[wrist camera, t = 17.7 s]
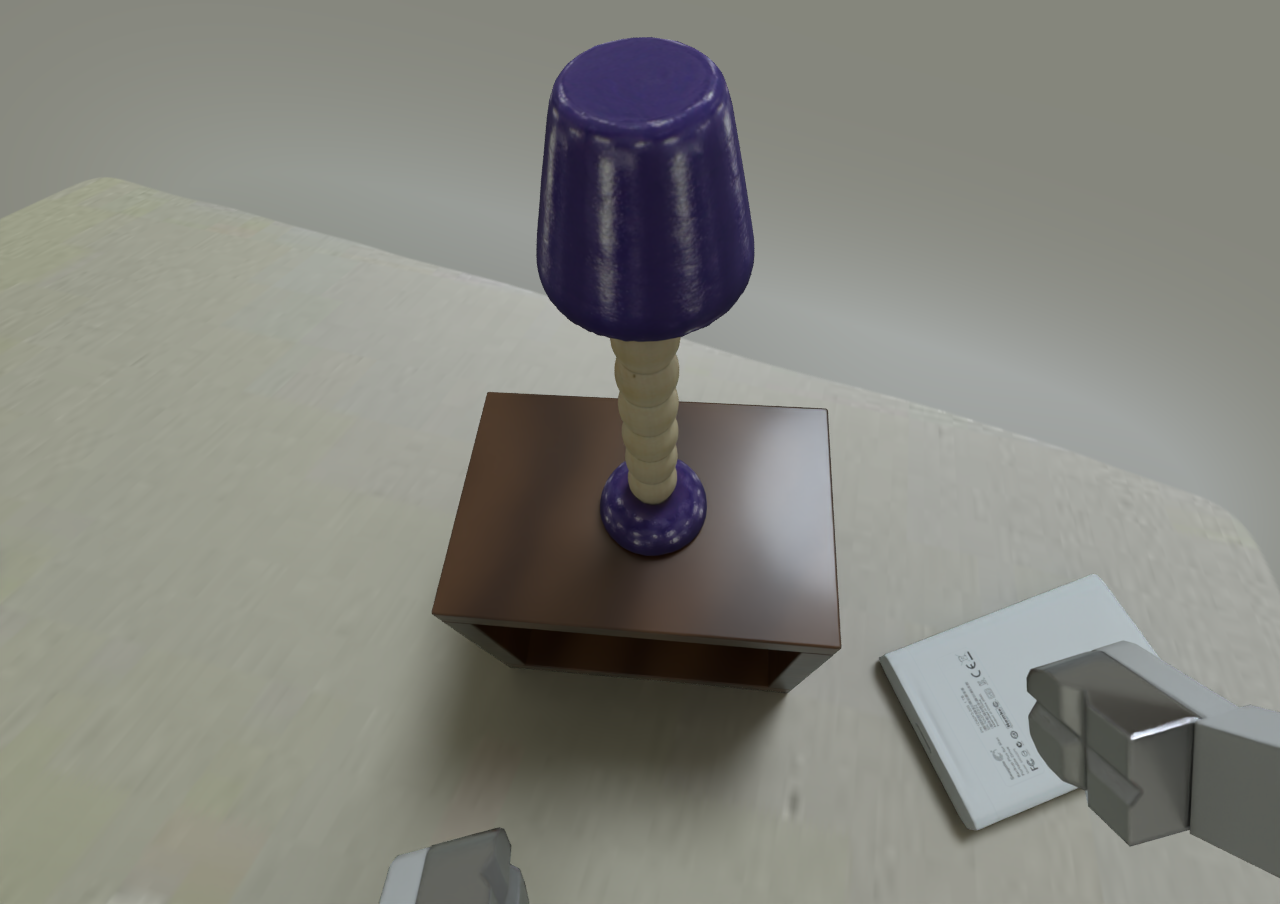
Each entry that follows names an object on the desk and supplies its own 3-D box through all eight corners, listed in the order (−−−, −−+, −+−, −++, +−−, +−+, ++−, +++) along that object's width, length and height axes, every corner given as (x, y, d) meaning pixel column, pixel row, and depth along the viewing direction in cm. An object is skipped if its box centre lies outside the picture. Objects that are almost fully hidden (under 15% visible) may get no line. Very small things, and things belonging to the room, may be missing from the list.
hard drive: (1189, 733, 30) (964, 829, 29) (1079, 580, 34) (876, 658, 33) (1214, 731, 29) (979, 832, 27) (1097, 571, 32) (885, 652, 31)
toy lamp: (615, 441, 26) (533, -3, 11) (725, 456, 25) (790, 7, 11) (590, 547, 24) (447, 168, 9) (710, 567, 23) (763, 193, 8)
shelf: (508, 667, 33) (430, 614, 23) (540, 499, 38) (486, 391, 28) (788, 693, 32) (841, 649, 21) (785, 515, 37) (828, 407, 26)
